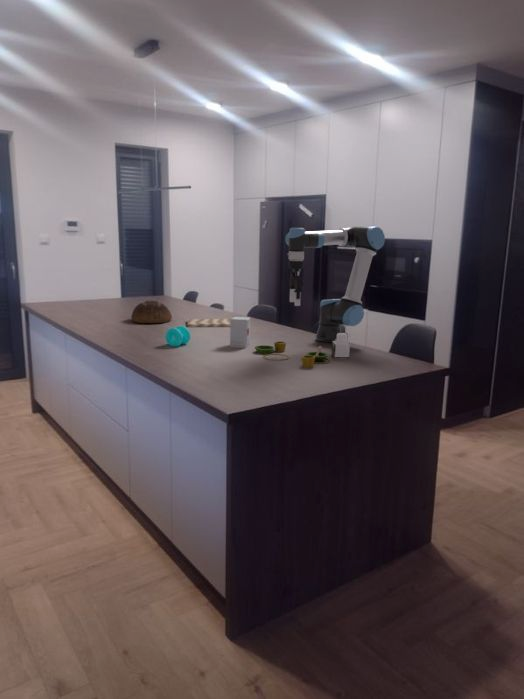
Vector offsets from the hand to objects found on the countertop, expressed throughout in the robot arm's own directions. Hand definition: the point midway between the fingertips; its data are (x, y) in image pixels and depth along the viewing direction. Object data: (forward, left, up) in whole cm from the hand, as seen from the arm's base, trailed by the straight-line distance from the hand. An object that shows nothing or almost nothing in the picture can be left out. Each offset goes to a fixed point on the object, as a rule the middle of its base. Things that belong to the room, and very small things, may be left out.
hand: (294, 303), depth 265 cm
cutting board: (+35, -83, -24) cm, 93 cm away
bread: (+73, -97, -25) cm, 124 cm away
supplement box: (+25, -15, -25) cm, 38 cm away
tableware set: (+3, +14, -25) cm, 29 cm away
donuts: (+57, -19, -25) cm, 65 cm away
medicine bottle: (-21, +13, -25) cm, 34 cm away
